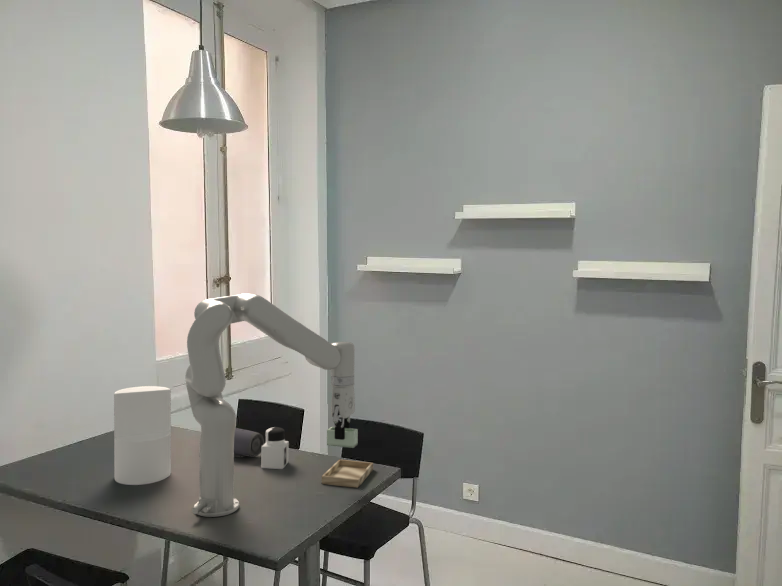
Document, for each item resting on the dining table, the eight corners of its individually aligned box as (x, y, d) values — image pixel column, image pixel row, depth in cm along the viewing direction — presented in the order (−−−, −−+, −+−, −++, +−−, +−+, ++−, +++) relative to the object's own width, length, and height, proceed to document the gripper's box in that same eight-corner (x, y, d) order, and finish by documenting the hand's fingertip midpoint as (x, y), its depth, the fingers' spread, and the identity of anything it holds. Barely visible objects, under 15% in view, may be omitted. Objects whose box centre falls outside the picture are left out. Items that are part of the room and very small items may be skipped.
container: (288, 462, 216) (289, 426, 216) (282, 469, 209) (283, 432, 208) (267, 461, 217) (267, 425, 217) (260, 468, 210) (261, 431, 209)
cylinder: (113, 470, 204) (112, 388, 203) (167, 463, 212) (167, 384, 211) (116, 488, 189) (115, 399, 188) (174, 480, 197) (174, 394, 196)
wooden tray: (358, 487, 193) (358, 480, 193) (321, 483, 196) (321, 476, 196) (373, 469, 210) (373, 462, 210) (339, 466, 213) (339, 459, 213)
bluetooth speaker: (199, 453, 224) (199, 426, 224) (216, 446, 233) (216, 421, 232) (248, 463, 215) (249, 435, 214) (264, 455, 223) (265, 429, 223)
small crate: (353, 447, 192) (353, 432, 192) (326, 445, 194) (326, 429, 194) (357, 444, 196) (357, 428, 195) (331, 441, 198) (331, 426, 198)
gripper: (344, 386, 185) (344, 445, 186) (362, 376, 201) (361, 430, 202) (321, 385, 187) (321, 443, 188) (340, 375, 203) (340, 429, 204)
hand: (342, 436), depth 195 cm, fingers closed on small crate, 4 cm apart
